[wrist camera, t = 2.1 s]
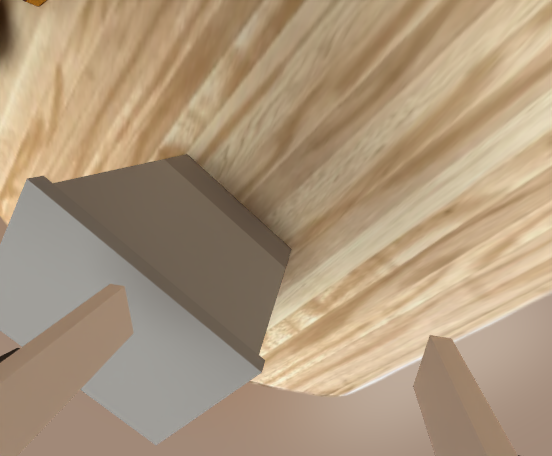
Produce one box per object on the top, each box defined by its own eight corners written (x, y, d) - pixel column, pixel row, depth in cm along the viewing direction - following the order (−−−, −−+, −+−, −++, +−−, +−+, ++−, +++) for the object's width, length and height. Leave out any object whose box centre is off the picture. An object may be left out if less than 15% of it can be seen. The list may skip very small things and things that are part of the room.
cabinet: (129, 232, 39) (-30, 318, 22) (186, 149, 33) (26, 178, 16) (225, 313, 42) (149, 449, 24) (295, 249, 35) (261, 372, 18)
